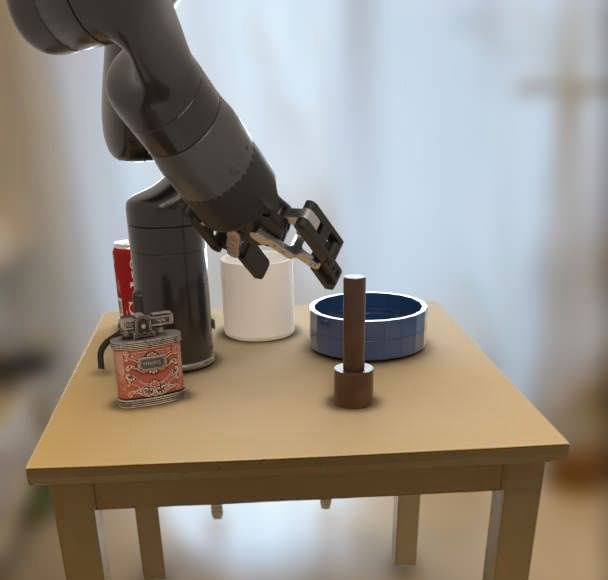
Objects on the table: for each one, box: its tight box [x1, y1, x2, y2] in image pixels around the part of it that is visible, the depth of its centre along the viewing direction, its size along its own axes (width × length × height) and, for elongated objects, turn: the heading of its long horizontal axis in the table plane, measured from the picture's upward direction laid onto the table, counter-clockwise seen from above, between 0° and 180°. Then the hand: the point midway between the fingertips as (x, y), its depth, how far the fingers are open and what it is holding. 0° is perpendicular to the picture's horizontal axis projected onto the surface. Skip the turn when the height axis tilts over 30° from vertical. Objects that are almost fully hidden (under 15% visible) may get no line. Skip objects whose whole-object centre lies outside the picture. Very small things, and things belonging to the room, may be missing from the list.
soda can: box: [111, 238, 134, 319], centre depth 127 cm, size 5×5×12 cm
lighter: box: [109, 311, 187, 409], centre depth 100 cm, size 8×3×10 cm, turn 117°
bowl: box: [308, 291, 429, 362], centre depth 118 cm, size 15×15×6 cm
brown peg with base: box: [333, 273, 375, 410], centre depth 97 cm, size 4×4×14 cm
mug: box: [219, 249, 296, 342], centre depth 125 cm, size 13×10×10 cm
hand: (297, 276), depth 86 cm, fingers open, 8 cm apart
